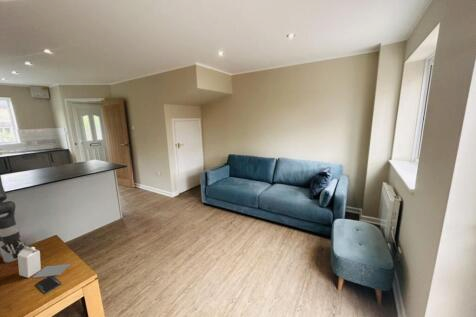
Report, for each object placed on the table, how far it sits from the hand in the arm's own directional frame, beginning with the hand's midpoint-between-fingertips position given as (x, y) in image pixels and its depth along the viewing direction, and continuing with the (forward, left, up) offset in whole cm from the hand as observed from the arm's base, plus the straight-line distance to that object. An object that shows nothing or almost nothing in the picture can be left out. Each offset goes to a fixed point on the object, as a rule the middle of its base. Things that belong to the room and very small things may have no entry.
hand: (16, 257), depth 125 cm
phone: (+27, +3, -14) cm, 30 cm away
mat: (+15, +10, -13) cm, 22 cm away
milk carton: (+3, +3, -13) cm, 13 cm away
